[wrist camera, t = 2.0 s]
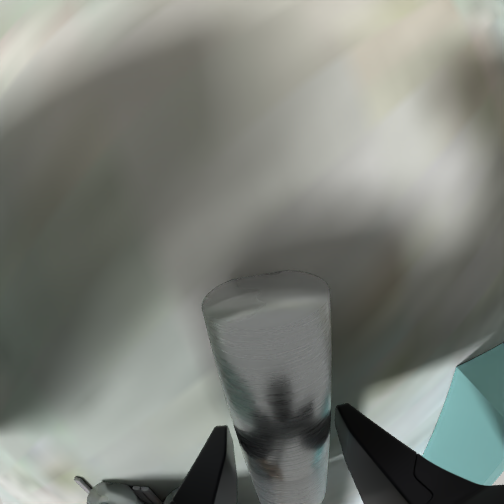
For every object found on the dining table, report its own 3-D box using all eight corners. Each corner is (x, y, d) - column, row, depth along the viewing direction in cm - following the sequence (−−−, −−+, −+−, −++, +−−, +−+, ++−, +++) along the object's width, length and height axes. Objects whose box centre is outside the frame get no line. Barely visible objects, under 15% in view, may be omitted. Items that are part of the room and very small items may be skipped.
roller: (318, 460, 11) (332, 509, 8) (255, 471, 11) (260, 522, 8) (312, 264, 8) (348, 312, 6) (207, 280, 8) (195, 337, 6)
